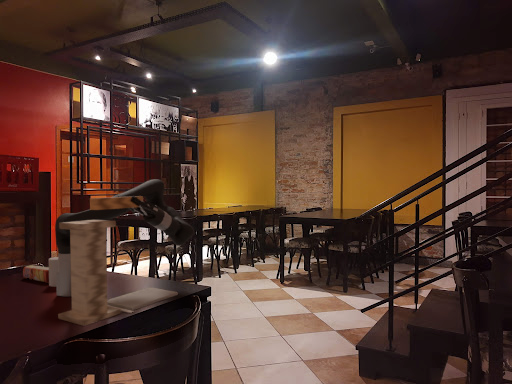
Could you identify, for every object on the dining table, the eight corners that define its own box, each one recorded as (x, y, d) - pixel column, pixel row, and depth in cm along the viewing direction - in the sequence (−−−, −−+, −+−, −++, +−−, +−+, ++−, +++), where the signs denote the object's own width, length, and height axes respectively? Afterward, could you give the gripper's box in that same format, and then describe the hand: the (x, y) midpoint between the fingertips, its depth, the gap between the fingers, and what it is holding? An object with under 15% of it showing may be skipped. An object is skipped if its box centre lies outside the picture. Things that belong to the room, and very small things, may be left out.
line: (130, 313, 133) (130, 312, 133) (94, 304, 144) (94, 303, 144) (134, 312, 135) (134, 311, 135) (97, 303, 145) (97, 302, 145)
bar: (135, 206, 151) (135, 196, 151) (143, 206, 149) (142, 196, 148) (90, 209, 134) (89, 198, 134) (97, 209, 132) (97, 198, 132)
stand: (95, 307, 141) (93, 219, 140) (120, 313, 133) (118, 220, 133) (58, 318, 129) (56, 222, 129) (83, 325, 122) (81, 224, 121)
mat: (131, 310, 136) (131, 307, 136) (102, 303, 145) (102, 301, 145) (177, 294, 156) (177, 292, 156) (149, 289, 164) (149, 287, 164)
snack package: (21, 279, 188) (21, 265, 188) (35, 276, 194) (35, 263, 194) (45, 284, 177) (45, 269, 177) (59, 281, 183) (59, 267, 182)
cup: (53, 282, 180) (53, 256, 179) (72, 281, 180) (71, 256, 180) (45, 286, 172) (45, 260, 171) (64, 286, 172) (64, 259, 172)
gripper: (149, 209, 163) (119, 189, 150) (173, 210, 155) (144, 189, 143) (142, 225, 160) (111, 207, 147) (167, 227, 152) (137, 207, 140)
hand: (128, 198), depth 145 cm, fingers closed on bar, 4 cm apart
